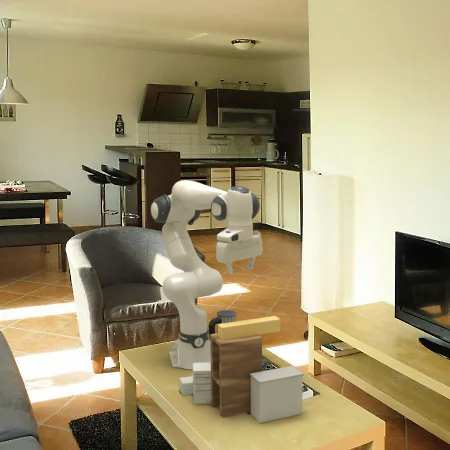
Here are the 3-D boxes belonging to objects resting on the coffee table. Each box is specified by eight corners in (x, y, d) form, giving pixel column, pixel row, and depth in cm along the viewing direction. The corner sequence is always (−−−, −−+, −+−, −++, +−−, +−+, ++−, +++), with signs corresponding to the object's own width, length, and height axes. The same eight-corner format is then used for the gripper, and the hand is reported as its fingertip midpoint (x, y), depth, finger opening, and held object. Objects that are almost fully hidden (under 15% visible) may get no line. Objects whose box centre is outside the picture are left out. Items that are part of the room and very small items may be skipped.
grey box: (249, 413, 202) (249, 373, 200) (292, 404, 208) (292, 365, 206) (259, 423, 195) (259, 382, 193) (302, 413, 202) (303, 373, 199)
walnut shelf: (211, 404, 209) (210, 334, 204) (249, 397, 214) (249, 328, 210) (222, 417, 200) (221, 344, 195) (261, 409, 205) (262, 337, 201)
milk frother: (224, 339, 272) (224, 308, 269) (253, 346, 263) (253, 314, 260) (205, 349, 260) (205, 316, 258) (235, 356, 251) (235, 323, 249)
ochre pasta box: (217, 336, 202) (217, 324, 201) (275, 327, 210) (275, 315, 210) (222, 340, 198) (221, 327, 198) (280, 331, 207) (280, 319, 206)
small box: (197, 394, 217) (197, 381, 216) (182, 396, 215) (182, 383, 215) (194, 387, 222) (193, 375, 222) (179, 389, 221) (178, 377, 220)
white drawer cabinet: (193, 395, 216) (192, 362, 214) (213, 394, 217) (213, 361, 215) (193, 404, 209) (192, 370, 207) (214, 403, 209) (213, 370, 207)
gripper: (254, 228, 217) (254, 265, 220) (213, 235, 204) (213, 274, 206) (266, 230, 213) (266, 267, 215) (225, 238, 199) (226, 278, 201)
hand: (240, 271), depth 210 cm, fingers open, 8 cm apart
